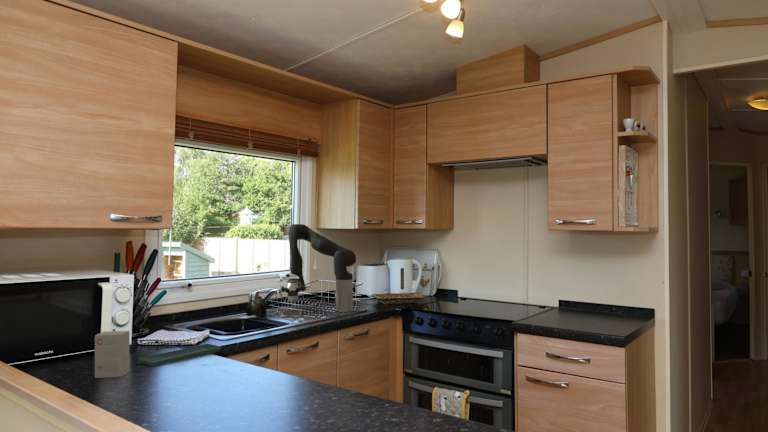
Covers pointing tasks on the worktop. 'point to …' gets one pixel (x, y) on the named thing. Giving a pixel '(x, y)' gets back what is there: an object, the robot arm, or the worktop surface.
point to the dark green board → (180, 354)
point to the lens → (292, 291)
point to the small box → (112, 354)
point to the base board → (291, 316)
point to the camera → (257, 308)
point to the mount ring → (290, 312)
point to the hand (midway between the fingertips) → (292, 290)
